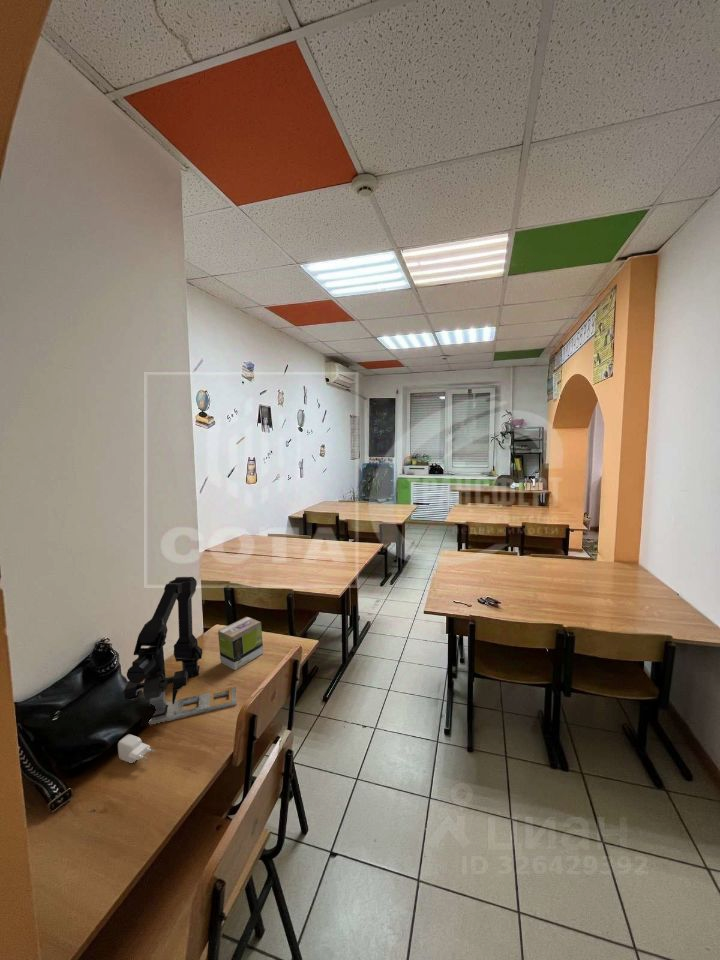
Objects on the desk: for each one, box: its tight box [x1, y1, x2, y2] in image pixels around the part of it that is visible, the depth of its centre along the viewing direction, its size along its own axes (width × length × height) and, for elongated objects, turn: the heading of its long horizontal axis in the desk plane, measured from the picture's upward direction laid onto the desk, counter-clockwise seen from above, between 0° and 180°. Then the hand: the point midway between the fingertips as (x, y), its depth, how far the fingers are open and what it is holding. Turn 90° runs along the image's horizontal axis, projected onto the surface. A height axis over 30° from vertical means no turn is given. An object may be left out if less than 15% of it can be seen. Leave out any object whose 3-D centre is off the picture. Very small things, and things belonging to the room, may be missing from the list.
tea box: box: [217, 616, 264, 671], centre depth 160 cm, size 15×10×15 cm
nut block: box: [149, 691, 167, 718], centre depth 128 cm, size 4×4×7 cm
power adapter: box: [117, 733, 156, 764], centre depth 110 cm, size 11×5×6 cm, turn 68°
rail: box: [148, 686, 237, 725], centre depth 132 cm, size 8×30×2 cm, turn 109°
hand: (158, 706), depth 128 cm, fingers open, 9 cm apart
